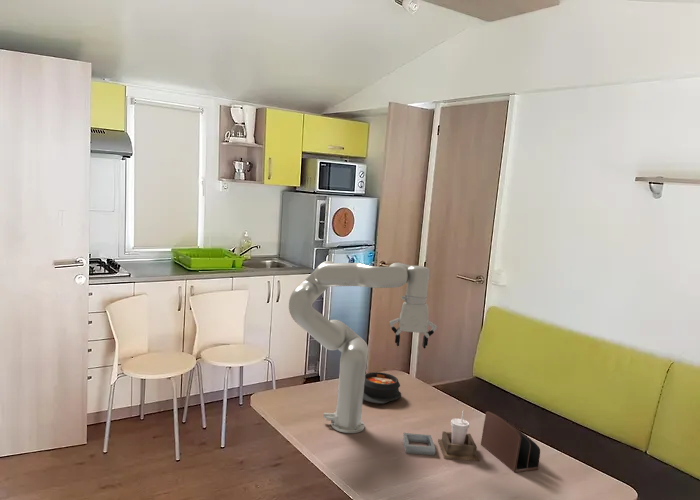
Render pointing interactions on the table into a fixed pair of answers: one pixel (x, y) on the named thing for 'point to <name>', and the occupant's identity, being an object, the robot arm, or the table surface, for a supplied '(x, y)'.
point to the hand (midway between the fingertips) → (410, 346)
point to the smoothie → (459, 430)
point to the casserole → (381, 388)
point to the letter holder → (509, 444)
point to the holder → (415, 448)
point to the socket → (458, 448)
